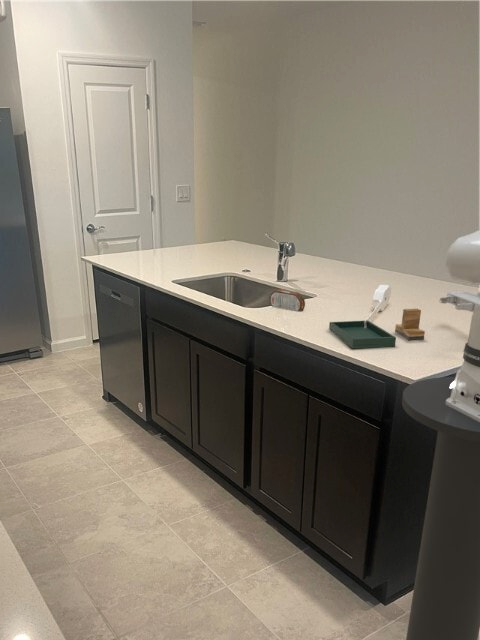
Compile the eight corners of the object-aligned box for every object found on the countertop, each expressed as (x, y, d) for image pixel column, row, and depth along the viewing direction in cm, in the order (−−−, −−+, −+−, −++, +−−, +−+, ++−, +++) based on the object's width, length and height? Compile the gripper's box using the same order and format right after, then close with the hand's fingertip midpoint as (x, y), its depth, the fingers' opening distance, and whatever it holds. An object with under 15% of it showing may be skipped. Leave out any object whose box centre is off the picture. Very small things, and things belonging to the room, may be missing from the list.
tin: (305, 314, 210) (306, 292, 207) (300, 316, 208) (301, 294, 205) (272, 308, 220) (273, 287, 217) (268, 309, 218) (268, 289, 214)
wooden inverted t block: (423, 340, 174) (427, 312, 171) (408, 341, 174) (412, 313, 170) (409, 332, 183) (412, 306, 180) (394, 333, 183) (397, 306, 180)
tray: (395, 346, 168) (396, 337, 167) (352, 348, 167) (353, 339, 166) (367, 328, 189) (368, 320, 188) (328, 330, 187) (329, 322, 186)
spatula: (352, 335, 188) (364, 336, 186) (353, 313, 185) (365, 314, 183) (379, 301, 217) (389, 302, 215) (381, 281, 213) (391, 282, 211)
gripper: (472, 286, 186) (433, 287, 184) (510, 298, 166) (467, 300, 165) (469, 304, 188) (430, 306, 187) (507, 318, 169) (464, 320, 168)
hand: (448, 303), depth 176 cm, fingers open, 8 cm apart
